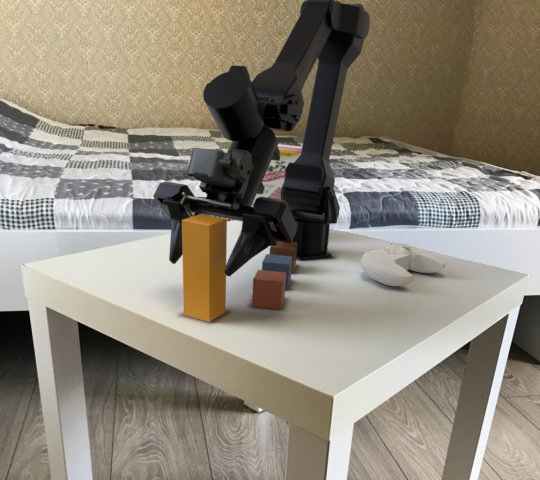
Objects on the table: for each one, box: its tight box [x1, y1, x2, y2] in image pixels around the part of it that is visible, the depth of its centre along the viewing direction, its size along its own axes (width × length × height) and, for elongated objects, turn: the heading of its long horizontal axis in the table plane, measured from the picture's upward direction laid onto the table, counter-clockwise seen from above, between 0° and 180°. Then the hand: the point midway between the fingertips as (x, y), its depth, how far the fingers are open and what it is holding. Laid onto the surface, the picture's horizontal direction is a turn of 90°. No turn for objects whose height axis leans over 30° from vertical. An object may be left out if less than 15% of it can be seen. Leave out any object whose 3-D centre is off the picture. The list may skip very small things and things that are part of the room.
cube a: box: [269, 241, 298, 274], centre depth 93 cm, size 4×4×4 cm
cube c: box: [251, 269, 286, 310], centre depth 80 cm, size 4×4×4 cm
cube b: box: [261, 253, 292, 291], centre depth 86 cm, size 4×4×4 cm
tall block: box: [182, 214, 228, 323], centre depth 73 cm, size 4×4×12 cm
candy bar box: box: [251, 143, 302, 207], centre depth 110 cm, size 11×5×16 cm, turn 71°
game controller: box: [358, 242, 447, 287], centre depth 93 cm, size 14×4×10 cm
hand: (198, 268), depth 72 cm, fingers open, 8 cm apart
